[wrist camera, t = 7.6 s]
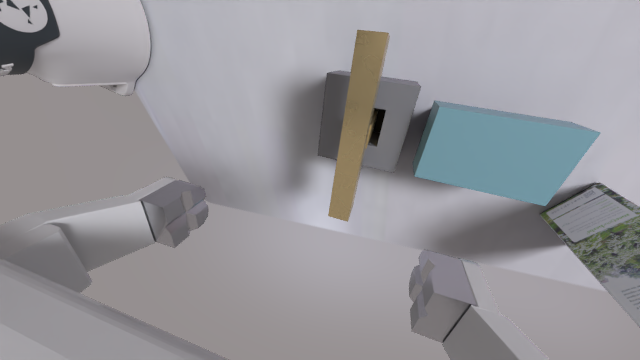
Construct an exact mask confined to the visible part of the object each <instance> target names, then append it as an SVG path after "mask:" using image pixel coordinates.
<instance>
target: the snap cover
mask: <svg viewBox="0 0 640 360" xmlns="http://www.w3.org/2000/svg"><path fill="white" fill-rule="evenodd" d="M599 134H600V132H597V131H594V130H592V129H589V128H586V127H583V126H580V125H578V124H575V123H572V122H567V121H560V120H554V119H548V118H541V117H535V116H529V115H522V114H516V113H510V112H503V111H497V110H491V109H484V108H478V107H472V106H466V105H459V104H453V103H447V102H440V101H434V103H433V106H432V109H431V112H430V115H429V118H428V120H427V123H426V126H425V129H424V132H423V135H422V138H421V141H420V143H419V146H418V149H417V152H416V155H415V158H414V161H413V170H414V176H415V177H419V178H423V179H428V180H432V181H437V182H441V183H445V184H450V185H454V186H459V187H463V188H467V189H472V190H476V191H481V192H485V193H490V194H494V195H498V196H503V197H507V198H512V199H516V200H520V201H525V202H529V203H534V204H538V205H542V206H546V205H547V204H548V202H549V201H550V200H551V198H552V197H553V196H554V194H555V193H556V192H557V190H558V189H559V188H560V186H561V185H562V184H563V182H564V181H565V180H566V178H567V177H568V176H569V174H570V173H571V172H572V170H573V169H574V168H575V166H576V165H577V164H578V162H579V161H580V160H581V158H582V157H583V156H584V154H585V153H586V152H587V150H588V149H589V148H590V146H591V145H592V144H593V142H594V141H595V140H596V138H597V137H598V136H599Z"/></svg>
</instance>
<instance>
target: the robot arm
mask: <svg viewBox="0 0 640 360" xmlns="http://www.w3.org/2000/svg"><path fill="white" fill-rule="evenodd" d="M150 50H151V42H150V32H149V27H148V22H147V19H146V15H145V12H144V9H143V6H142V4H141V2H140V0H0V76H4V75H9V74H10V75H12V74H24V73H29V74H31V75H34V76H36V77H38V78H39V79H41V80H42V81H45V82H48V83H51V84H52V85H53V86H57V87H70V86H95V85H99V86H101V87H104V88H106V89H108V90H111V91H113V92H115V93H117V94H119V95H122V96H127V95H128V96H129V95H132V93H133V91H134V86H135V82H136V80H137V79H138V77H140V76H141V75H142V74H143V72H144V71H145V69H146V67H147V65H148V62H149V58H150ZM205 197H206V193H205V189H204V188H202V187H201V186H198V185H194V184H191V183H188V182H185V181H181V180H177V179H174V178H170V177H164V178H162V179H160V180H158V181H156V182H154V183H152V184H150V185H148V186H146V187H144V188H142V189H140V190H138V191H136V192H133V193H131V194H129V195H127V196H117V197H111V198H106V199H101V200H96V201H91V202H86V203H80V204H76V205H70V206H65V207H60V208H55V209H50V210H45V211H40V212H34V213H29V214H26V215H23V216H21V217H19V218H17V219H14V220H11V221H9V222H7V223H4V224H2V225H0V360H229V359H227V358H225V357H222V356H220V355H218V354H216V353H213V352H211V351H209V350H207V349H204V348H202V347H200V346H198V345H195V344H193V343H191V342H188V341H186V340H184V339H182V338H180V337H177V336H175V335H173V334H171V333H168V332H166V331H163V330H161V329H159V328H157V327H155V326H153V325H150V324H148V323H146V322H144V321H141V320H139V319H137V318H134V317H132V316H130V315H128V314H126V313H123V312H121V311H118V310H116V309H114V308H112V307H109V306H107V305H105V304H103V303H101V302H98V301H96V300H94V299H92V298H89V297H87V296H85V295H83V294H80V292H82V291H83V290H84V289H86V288H87V287H89V286H90V285H91V282H92V280H91V278H90V276H89V274H88V273H87V272H88V271H90V270H93V269H95V268H97V267H100V266H102V265H104V264H106V263H109V262H111V261H114V260H116V259H118V258H121V257H123V256H125V255H128V254H130V253H132V252H135V251H137V250H139V249H142V248H144V247H147V246H149V245H151V244H154V243H155V242H158V243H161V244H164V245H167V246H170V247H173V248H175V247H176V246H178V245H179V244H180V243H181V242H182V241H183V240H185V239H186V238H187V237H188V236H189V234H190V231H191V230H194V229H197V228H199V227H200V226H201V225H202V224H203V223H204V222H205V220H206V218H207V217H208V205H207V204H206V203H205V201H204V199H205ZM419 264H420V265H418V266H416V267H414V269H413V271H412V274H411V278H410V283H409V296H410V298H411V299H412V301H413V302H414V303H413V305H412V307H411V309H410V315H411V329H412V332H415V333H418V334H420V335H423V336H425V337H428V338H431V339H433V340H436V341H439V342H441V343H443V344H442V345H443V347H444V349H445V351H446V352H447V354H448V356H449V358H450V359H451V360H550V359H549V358H548V357H547V356H546V355H545V354H544V353H543V352H542V351H541V350H540V349H539V348H538V347H537V346H536V345H535V344H534V343H533V342H532V341H531V340H530V339H529V338H528V337H527V336H526V335H525V334H524V333H523V332H522V331H521V330H520V329H519V328H518V327H517V326H516V325H515V324H514V323H513V322H512V321H511V320H510V319H509V318H508V317H507V316H504V315H501V314H500V312H499V309H498V307H497V305H496V302H495V300H494V297H493V295H492V293H491V290H490V288H489V286H488V283H487V281H486V279H485V276H484V274H483V272H482V269H481V267H480V265H479V264H478V263H476V262H472V261H468V260H464V259H460V258H455V257H451V256H448V255H444V254H440V253H437V252H433V251H429V250H426V249H424V250H423V251H422V252H421V254H420V256H419Z"/></svg>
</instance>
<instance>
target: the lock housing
mask: <svg viewBox="0 0 640 360" xmlns="http://www.w3.org/2000/svg"><path fill="white" fill-rule="evenodd" d="M350 74H351V72H346V71H335V72H329V73H327V78H326V87H325V96H324V105H323V113H322V122H321V131H320V140H319V148H318V156H322V157H327V158H331V159H336V160H337V157H338V151H339V145H340V138H341V132H342V125H343V119H344V113H345V106H346V100H347V93H348V87H349V81H350ZM420 88H421V86H420V85H419V84H418V82H415V81H408V80H401V79H394V78H387V77H381V79H380V84H379V88H378V93H377V98H376V102H375V107H374V108H378V109H384V110H386V112H385V116H384V120H383V124H382V128H381V132H380V133H379V132H374V131H373V132H372V135H371V138H370V141H369V143H368V146H367V149H365V152H364V157H363V162H362V166H366V167H371V168H375V169H379V170H384V171H388V172H393V173H394V172H395V169H396V166H397V163H398V159H399V156H400V153H401V150H402V146H403V143H404V140H405V137H406V134H407V130H408V127H409V124H410V121H411V117H412V114H413V111H414V108H415V105H416V101H417V98H418V95H419V92H420Z"/></svg>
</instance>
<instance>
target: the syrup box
mask: <svg viewBox="0 0 640 360" xmlns="http://www.w3.org/2000/svg"><path fill="white" fill-rule="evenodd" d="M540 216H541V217H542V218H543V220H544V221H545V222H546V223H547V224H548V225H549V226H550V227H551V228H552V230H553V231H554V232H555V233H556V234H557V235H558V236H559V238H560V239H561V240H562V241H563V242H564V243H565V244H566V245H567V246H568V247H569V249H570V250H571V251H572V252H573V253H574V254H575V255H576V256H577V258H578V259H579V260H580V261H581V262H582V263H583V264H584V265H585V267H586V268H587V269H588V270H589V271H590V272H591V273H592V275H593V276H594V277H595V278H596V279H597V280H598V281H599V282H600V284H601V285H602V286H603V287H604V288H605V289H606V290H607V291H608V293H609V294H610V295H611V296H612V297H613V298H614V299H615V300H616V301H617V303H618V304H619V305H620V306H621V307H622V308H623V310H624V311H625V312H626V313H627V314H628V315H629V316H630V317H631V318H632V320H633V321H634V322H635V323H636V324H637V325H638V326H639V328H640V206H639V205H637V204H635V203H634V202H632V201H630V200H629V199H627V198H625V197H624V196H622V195H620V194H619V193H617V192H616V191H614V190H612V189H611V188H609V187H607V186H606V185H604V184H602V183H597V184H595V185H593V186H591V187H589V188H588V189H586V190H584V191H582V192H580V193H579V194H577V195H575V196H573V197H571V198H569V199H567V200H566V201H564V202H562V203H560V204H558V205H556V206H554V207H553V208H551V209H549V210H547V211H545V212H543V213H542V214H540Z"/></svg>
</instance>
